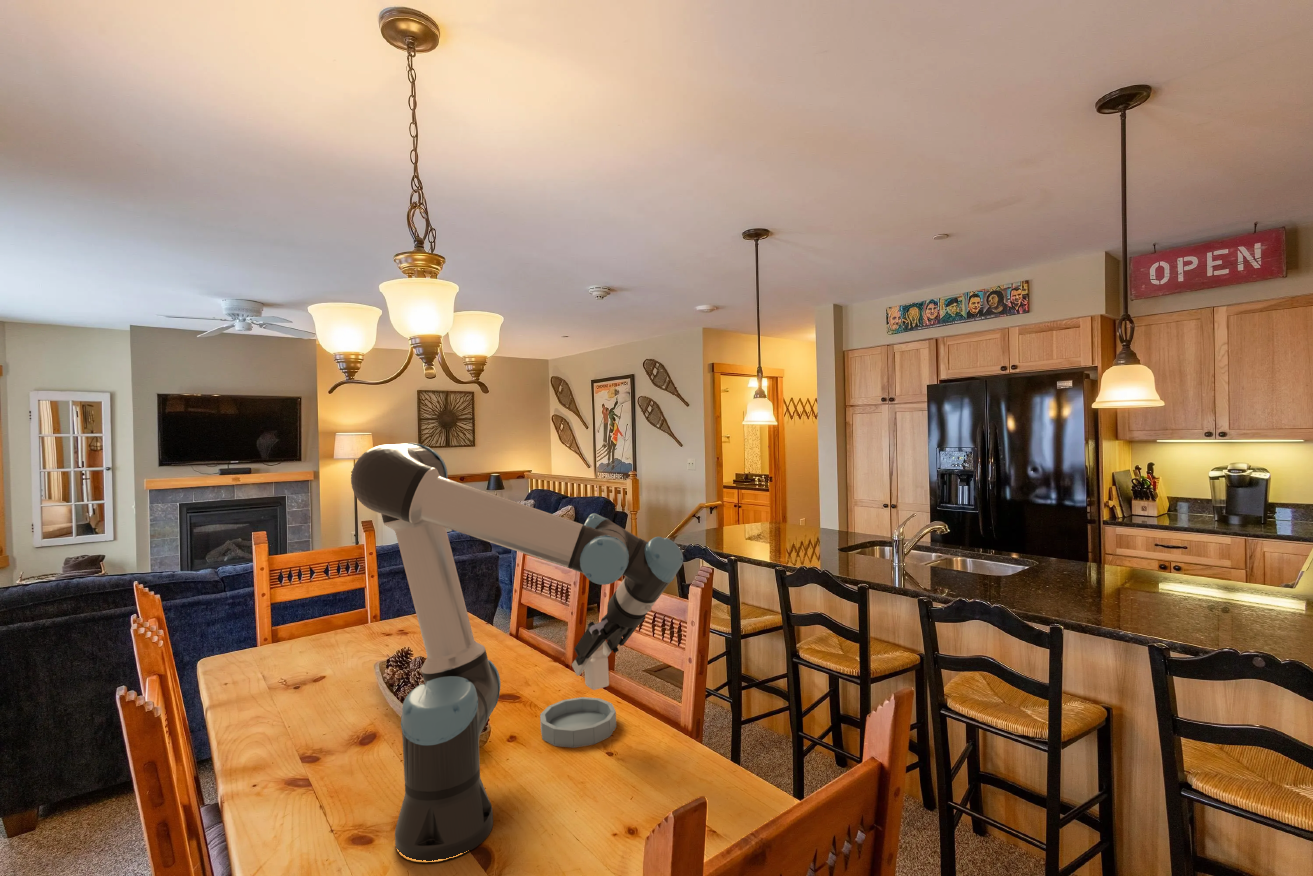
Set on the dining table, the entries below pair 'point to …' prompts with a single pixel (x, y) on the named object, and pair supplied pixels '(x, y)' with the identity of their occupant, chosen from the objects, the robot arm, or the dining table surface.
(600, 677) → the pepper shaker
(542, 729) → the bowl
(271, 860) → the dining table surface
